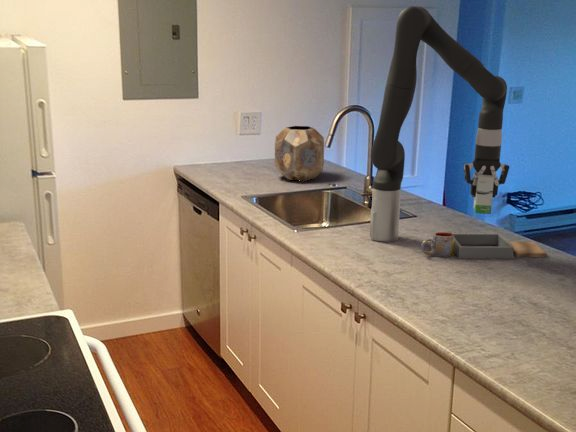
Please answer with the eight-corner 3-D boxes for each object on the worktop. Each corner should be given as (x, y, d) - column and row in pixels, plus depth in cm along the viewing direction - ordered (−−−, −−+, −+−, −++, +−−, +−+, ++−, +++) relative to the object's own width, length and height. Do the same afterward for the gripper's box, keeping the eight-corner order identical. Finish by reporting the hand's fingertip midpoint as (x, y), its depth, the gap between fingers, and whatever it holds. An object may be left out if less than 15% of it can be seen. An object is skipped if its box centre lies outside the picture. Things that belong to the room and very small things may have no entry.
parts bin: (458, 258, 215) (459, 247, 214) (448, 243, 229) (449, 233, 228) (512, 258, 215) (513, 247, 214) (498, 243, 229) (499, 233, 228)
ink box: (491, 214, 214) (494, 176, 211) (474, 213, 215) (478, 176, 212) (489, 207, 222) (492, 171, 219) (473, 206, 223) (476, 170, 220)
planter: (271, 183, 315) (271, 131, 309) (280, 172, 338) (280, 123, 332) (319, 185, 312) (320, 132, 305) (326, 174, 335) (326, 124, 329)
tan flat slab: (516, 256, 216) (517, 253, 216) (505, 245, 228) (505, 241, 228) (545, 257, 216) (546, 253, 216) (532, 245, 228) (533, 241, 227)
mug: (445, 249, 224) (446, 229, 222) (458, 255, 217) (459, 235, 216) (413, 254, 219) (414, 234, 217) (426, 260, 213) (427, 239, 211)
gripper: (468, 144, 209) (463, 199, 214) (515, 145, 209) (510, 200, 214) (462, 140, 216) (457, 193, 221) (508, 141, 216) (502, 194, 221)
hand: (483, 196), depth 217 cm, fingers closed on ink box, 5 cm apart
